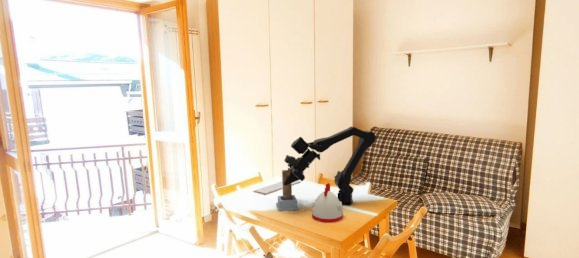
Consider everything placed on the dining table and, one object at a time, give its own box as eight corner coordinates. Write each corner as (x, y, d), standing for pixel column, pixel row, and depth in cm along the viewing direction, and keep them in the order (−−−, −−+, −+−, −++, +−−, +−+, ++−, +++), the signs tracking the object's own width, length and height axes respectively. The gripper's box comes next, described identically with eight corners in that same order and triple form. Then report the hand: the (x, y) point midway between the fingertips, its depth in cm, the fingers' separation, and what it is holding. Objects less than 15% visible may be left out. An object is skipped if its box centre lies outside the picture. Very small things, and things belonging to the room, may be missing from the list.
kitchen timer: (345, 213, 150) (345, 181, 148) (339, 224, 137) (339, 189, 136) (316, 209, 155) (316, 179, 153) (308, 220, 142) (307, 187, 141)
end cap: (295, 202, 165) (295, 194, 165) (299, 209, 155) (298, 200, 155) (276, 204, 164) (275, 195, 163) (278, 211, 154) (278, 202, 154)
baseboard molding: (250, 192, 187) (265, 196, 180) (250, 187, 187) (265, 191, 179) (286, 180, 211) (300, 183, 203) (286, 176, 210) (300, 179, 203)
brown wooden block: (290, 195, 161) (290, 169, 159) (291, 197, 158) (291, 171, 157) (282, 196, 160) (282, 170, 159) (283, 197, 157) (282, 171, 156)
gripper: (291, 146, 166) (270, 168, 166) (297, 152, 148) (274, 178, 148) (306, 160, 168) (286, 182, 168) (314, 168, 150) (291, 193, 150)
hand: (284, 183), depth 158 cm, fingers closed on brown wooden block, 3 cm apart
